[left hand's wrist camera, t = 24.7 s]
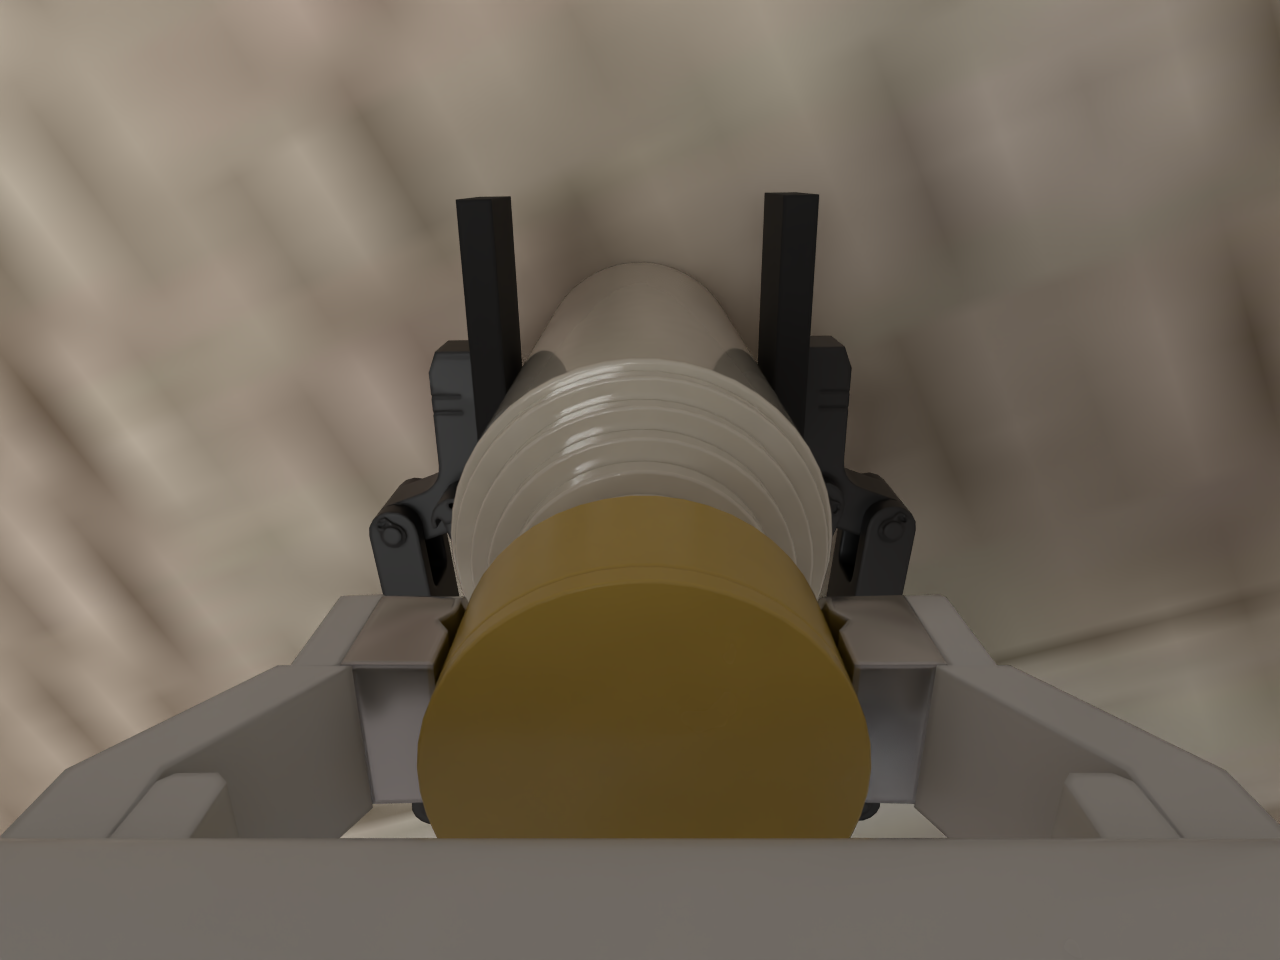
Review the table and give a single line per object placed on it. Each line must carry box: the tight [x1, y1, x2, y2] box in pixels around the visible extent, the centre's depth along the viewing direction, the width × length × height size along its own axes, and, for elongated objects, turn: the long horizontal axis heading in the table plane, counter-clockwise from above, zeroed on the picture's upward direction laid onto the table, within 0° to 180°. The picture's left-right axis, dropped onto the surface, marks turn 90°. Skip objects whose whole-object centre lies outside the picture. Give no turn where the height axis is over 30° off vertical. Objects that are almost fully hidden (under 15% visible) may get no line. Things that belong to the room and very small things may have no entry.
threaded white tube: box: [451, 262, 832, 603], centre depth 17 cm, size 6×6×18 cm
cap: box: [417, 496, 871, 838], centre depth 9 cm, size 4×4×2 cm
